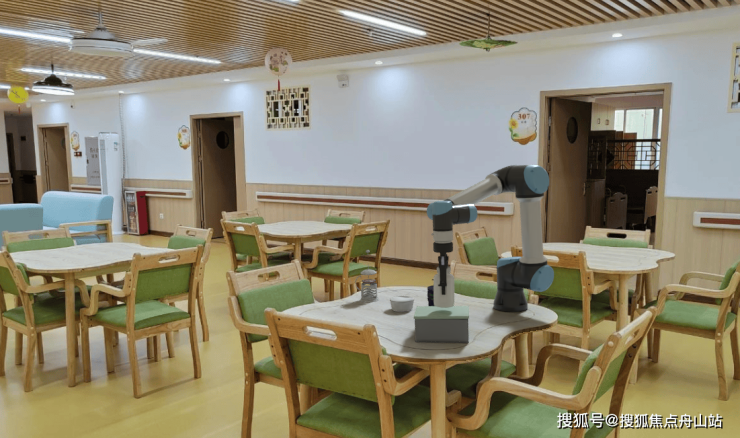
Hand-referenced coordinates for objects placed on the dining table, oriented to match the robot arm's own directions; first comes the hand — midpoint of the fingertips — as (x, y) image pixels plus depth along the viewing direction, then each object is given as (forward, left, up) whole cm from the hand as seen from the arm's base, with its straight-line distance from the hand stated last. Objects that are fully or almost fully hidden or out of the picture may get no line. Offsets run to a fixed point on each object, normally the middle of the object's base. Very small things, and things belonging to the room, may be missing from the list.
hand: (444, 299), depth 225 cm
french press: (+40, -57, -15) cm, 71 cm away
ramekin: (+21, -40, -15) cm, 48 cm away
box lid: (+1, 0, -5) cm, 6 cm away
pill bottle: (0, 0, -2) cm, 2 cm away
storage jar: (+3, -20, -15) cm, 25 cm away
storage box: (+1, 0, -15) cm, 15 cm away
